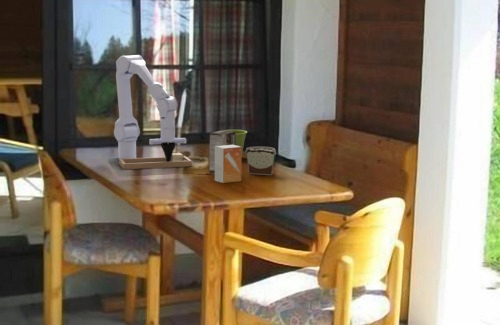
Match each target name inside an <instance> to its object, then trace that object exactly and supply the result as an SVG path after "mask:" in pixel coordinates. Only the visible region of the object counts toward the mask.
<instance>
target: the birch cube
mask: <svg viewBox="0 0 500 325" xmlns="http://www.w3.org/2000/svg"><path fill="white" fill-rule="evenodd" d="M183 156H184V155H183V153H181V152H174V153H172V156H171V161H183Z"/></svg>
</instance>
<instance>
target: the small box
mask: <svg viewBox="0 0 500 325" xmlns="http://www.w3.org/2000/svg"><path fill="white" fill-rule="evenodd" d="M241 152H242V147H240V146H236V145H223V146H215V171H214V172H215V174H214V181H215V182H217V183H222V184H225V183H235V182H238V183H239V182H242V157H241ZM242 153H243V152H242Z"/></svg>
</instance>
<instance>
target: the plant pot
mask: <svg viewBox="0 0 500 325" xmlns="http://www.w3.org/2000/svg"><path fill="white" fill-rule="evenodd" d="M226 130H227V131H234V132H235V137H236V146H240V147H242V152H241V158H242V156H243V150H244V147H245V146H244V145H245V139H246V137H247V136H246V135H247V133H248V131H247V130H242V129H226Z"/></svg>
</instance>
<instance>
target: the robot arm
mask: <svg viewBox="0 0 500 325" xmlns="http://www.w3.org/2000/svg"><path fill="white" fill-rule="evenodd" d="M115 65H116V72H115V81H116V92H117V102H118V104H117V105H118V117H119V118H118V119H117V120H116V121H115V122H114V129H113V135H114V138H115V139H116V142H117V143H118V144H117V146H118V147H117V149H118V153H117V156H118V160H119V159H128V158H137V140H138V137H139V136H140V134H141V131H140V127H139V123H138V120H137V118H135V117H134V116H133V115H134V114H133V104H132V102H133V101H132V92H131V91H132V90H131V78H132V77H133V75H138V77H139V78H140V79H141V80H142V81H143V82H144V83H145V85H146V86H147V87H148V93H149V94H150V96H151V97H152V98H153V100H154V102H155V103H156V104H157V105H156V108H157V110H158V113H159V114H158V115H159V117H160V138H149V142H148V143H149V145H160V146H161V149H162V151H163V153H164V157H166V162H169V161H170V160H171V156H172V153H173V152H174V150H175V148H176V144H187V138H186V137H176V111H177V109H178V108H179V107H178V106H179V104H178V100H177V99H176V97H175V96H172V95H170V94H169V93H168V92H167V90H166V89H165V88H164V85H163V84H162V83H160V82H156V80H155V79H154V77H153V75H152V74H151V73H150V71H149V69H148V68H147V66H146V61H145V60H144V59H143V57H142V56H141V55H140V54H135V55H121V56H119V58H117V60H116V61H115Z"/></svg>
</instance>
